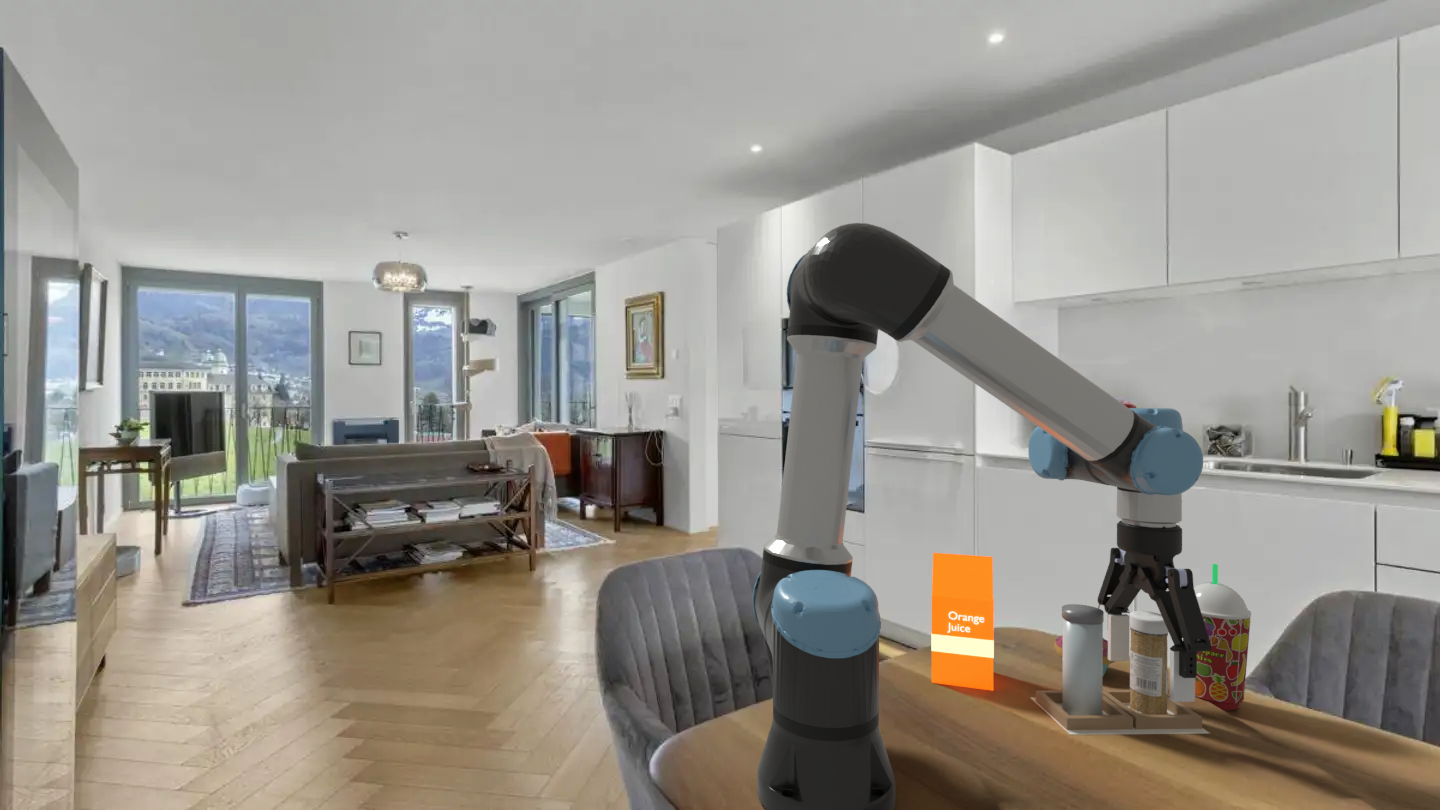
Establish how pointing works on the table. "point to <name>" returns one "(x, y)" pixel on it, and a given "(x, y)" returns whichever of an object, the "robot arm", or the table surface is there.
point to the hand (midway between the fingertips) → (1148, 679)
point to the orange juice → (962, 621)
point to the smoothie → (1222, 644)
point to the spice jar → (1148, 663)
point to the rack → (1120, 716)
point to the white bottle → (1082, 659)
